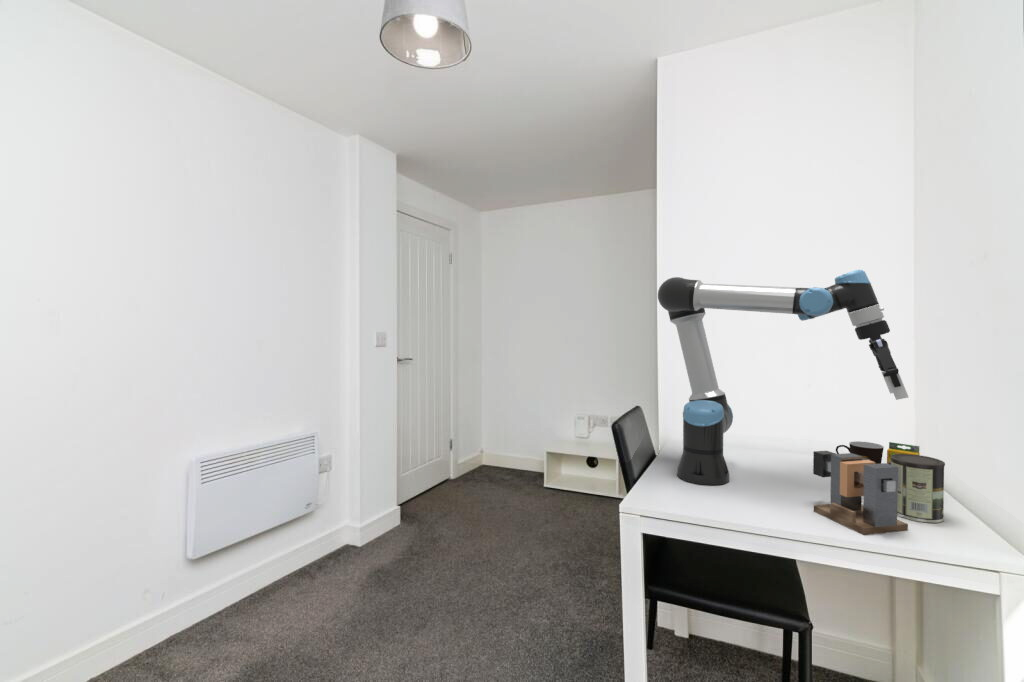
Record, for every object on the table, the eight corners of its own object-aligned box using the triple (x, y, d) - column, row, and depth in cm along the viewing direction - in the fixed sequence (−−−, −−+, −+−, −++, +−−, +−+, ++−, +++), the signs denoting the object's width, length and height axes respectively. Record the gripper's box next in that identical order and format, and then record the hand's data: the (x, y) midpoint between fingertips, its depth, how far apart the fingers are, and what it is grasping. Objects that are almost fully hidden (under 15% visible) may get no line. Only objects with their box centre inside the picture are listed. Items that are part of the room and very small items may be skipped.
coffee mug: (890, 479, 145) (890, 447, 144) (869, 482, 142) (869, 449, 142) (853, 468, 156) (853, 438, 156) (833, 470, 153) (833, 440, 153)
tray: (813, 511, 121) (813, 495, 120) (853, 507, 123) (853, 492, 123) (863, 534, 107) (864, 517, 107) (907, 530, 109) (908, 513, 109)
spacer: (839, 494, 115) (840, 461, 115) (867, 491, 117) (867, 459, 116) (846, 497, 113) (847, 464, 113) (874, 494, 115) (875, 462, 114)
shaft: (813, 473, 125) (813, 451, 125) (826, 472, 126) (826, 450, 126) (883, 500, 106) (883, 473, 106) (898, 499, 107) (898, 472, 107)
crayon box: (886, 481, 143) (886, 443, 142) (888, 479, 145) (888, 441, 145) (917, 487, 138) (918, 447, 137) (919, 485, 140) (919, 446, 139)
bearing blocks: (830, 507, 119) (831, 454, 119) (850, 505, 120) (851, 453, 120) (875, 527, 107) (876, 468, 107) (897, 525, 108) (898, 466, 108)
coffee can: (924, 508, 122) (925, 454, 122) (955, 524, 112) (956, 465, 112) (880, 505, 124) (881, 452, 123) (906, 522, 114) (907, 464, 113)
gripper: (890, 318, 122) (923, 397, 119) (880, 319, 143) (908, 386, 139) (856, 327, 126) (887, 404, 123) (851, 327, 147) (878, 393, 143)
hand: (899, 395), depth 131 cm, fingers open, 13 cm apart
